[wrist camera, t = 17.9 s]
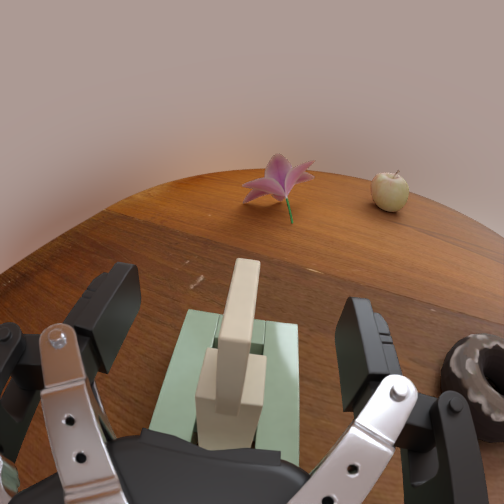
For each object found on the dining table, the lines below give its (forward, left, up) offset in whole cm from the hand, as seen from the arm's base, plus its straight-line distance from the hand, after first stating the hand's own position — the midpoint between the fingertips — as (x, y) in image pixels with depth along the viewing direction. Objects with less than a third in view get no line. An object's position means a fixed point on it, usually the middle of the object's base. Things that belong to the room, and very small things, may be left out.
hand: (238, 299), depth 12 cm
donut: (+22, -5, -12) cm, 26 cm away
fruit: (+37, +34, -12) cm, 52 cm away
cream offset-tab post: (-1, -2, -12) cm, 12 cm away
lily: (+14, +32, -12) cm, 37 cm away
